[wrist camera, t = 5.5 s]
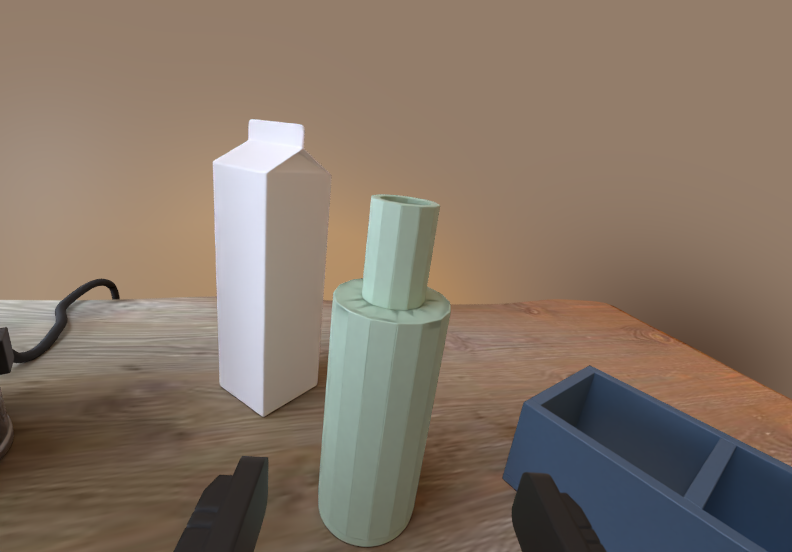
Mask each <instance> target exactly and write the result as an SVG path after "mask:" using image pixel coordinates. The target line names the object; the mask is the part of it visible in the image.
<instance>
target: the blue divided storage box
mask: <svg viewBox="0 0 792 552" xmlns="http://www.w3.org/2000/svg"><path fill="white" fill-rule="evenodd" d="M524 472H531V473H547V474H549V475H550V476H551V477H552V479H553V480H554V482H555V484H556V486H557V488H558V490H559V491H560V493H567V494H568V495H569V496H570V497H571V498H572V499H573V500H574V501H575V502H576V503H577V504H578V505H579V506H580V507H581V508H582V510H583V512H584V513H585V515H586V517H587V519H588V520H589V522H590V524H591V526H592V529H594V531H595V532H596V534H597V536H598V538H599V539H600V543H601V544H602V545H603V546H604V548H605V550H606V552H792V467H791V466H789V465H787V464H785V463H783V462H781V461H779V460H777V459H775V458H773V457H771V456H769V455H767V454H765V453H763V452H761V451H759V450H757V449H755V448H753V447H751V446H749V445H747V444H745V443H743V442H741V441H739V440H737V439H735V438H733V437H731V436H729V435H727V434H725V433H723V432H721V431H719V430H717V429H715V428H713V427H711V426H709V425H707V424H705V423H703V422H701V421H699V420H697V419H695V418H693V417H691V416H689V415H688V414H686V413H684V412H682V411H680V410H678V409H676V408H674V407H672V406H670V405H668V404H666V403H664V402H662V401H660V400H658V399H656V398H654V397H652V396H650V395H648V394H646V393H644V392H642V391H640V390H638V389H636V388H634V387H632V386H630V385H628V384H626V383H624V382H622V381H620V380H618V379H616V378H614V377H612V376H610V375H608V374H606V373H604V372H602V371H600V370H598V369H596V368H594V367H592V366H590V365H589V366H588V367H586V368H584V369H582V370H580V371H579V372H577V373H575V374H573V375H571V376H570V377H568V378H566V379H564V380H562V381H561V382H559V383H557V384H555V385H554V386H552V387H550V388H548V389H546V390H545V391H543V392H541V393H539V394H537V395H536V396H534V397H532V398H530V399H529V400H527V401H525V402H524V403H523V407H522V410H521V414H520V417H519V421H518V425H517V428H516V432H515V435H514V439H513V442H512V446H511V449H510V453H509V456H508V460H507V464H506V467H505V471H504V474H503V479H504V480H505V481H506V482H507V483H508V484H510V485H511V486H512V487H513V488H514V489H515V490H516V491H517V489H518V486H519V483H520V479H521V476H522V474H523V473H524Z"/></svg>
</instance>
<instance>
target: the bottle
mask: <svg viewBox="0 0 792 552" xmlns="http://www.w3.org/2000/svg"><path fill="white" fill-rule="evenodd" d="M439 209H440V205H438V204H437V203H435V202H432V201H428V200H424V199H419V198H413V197H406V196H398V195H381V194H380V195H373V196H372V197H371V207H370V216H369V226H368V236H367V245H366V257H365V265H364V275H363V278H361V279H354V280H350V281H348V282H345V283H343V284H340V285H339V286H338V287H337V289H336V290H335V291H334V293H333V304H332V317H331V331H330V344H329V357H328V370H327V383H326V396H325V409H324V422H323V435H322V448H321V461H320V474H319V487H318V494H319V498H318V507H319V512H320V515H321V518H322V520H323V522H324V524H325V525H326V527H327V528H328V529H329V531H330V532H331V533H332V534H333V535H335V536H336V537H337V538H339V539H340V540H342V541H344V542H346V543H349V544H352V545H355V546H362V547H371V546H378V545H382V544H385V543H387V542H389V541H391V540H393V539H394V538H396V537H397V536H398V535H399V534H400V533H401V532H402V531H403V530H404V529H405V528H406V526H407V525H408V523H409V521H410V518H411V515H412V511H413V509H414V504H415V498H416V493H417V488H418V482H419V477H420V472H421V466H422V461H423V456H424V451H425V445H426V440H427V435H428V429H429V424H430V419H431V413H432V408H433V403H434V398H435V392H436V387H437V382H438V376H439V371H440V366H441V360H442V355H443V350H444V345H445V339H446V334H447V329H448V323H449V318H450V313H451V308H450V302H449V301H448V300H447V299H446V298H445V297H444V296H443V295H442V294H440V293H439V292H437V291H435V290H433V289H431V288H429V287H427V283H428V277H429V271H430V265H431V258H432V252H433V246H434V240H435V233H436V227H437V221H438V215H439Z"/></svg>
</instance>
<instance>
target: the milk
mask: <svg viewBox="0 0 792 552" xmlns="http://www.w3.org/2000/svg"><path fill="white" fill-rule="evenodd" d="M248 129H249V132H248V134H249V135H248V136H249V139H248V141H246V142H245V143H243V144H241V145H240V146H238V147H236V148H235V149H233V150H231V151H230V152H228V153H226V154H225V155H223V156H221V157H219V158H218V159H216V160H215V161H213V181H214V215H215V247H216V276H217V277H216V278H217V312H218V345H219V377H220V386H221V387H223V388H224V389H225V390H227V391H228V392H229V393H231V394H232V395H233V396H235V397H236V398H238V399H239V400H240V401H242V402H243V403H244V404H246V405H247V406H249V407H250V408H251V409H253V410H254V411H255V412H257V413H258V414H260V415H261V416H262V417H264V416H266V415H268V414H269V413H271V412H273V411H274V410H276V409H278V408H279V407H281V406H283V405H284V404H286V403H288V402H289V401H291V400H293V399H294V398H296V397H298V396H299V395H301V394H303V393H304V392H306V391H308V390H310V389H311V388H313V387H315V386H316V385H317V382H318V368H319V353H320V338H321V324H322V309H323V294H324V279H325V264H326V250H327V249H326V248H327V235H328V220H329V205H330V190H331V174H330V173H329V172H328V171H327V170H326V169H325V168H324V167H323V166H322V165H320V163H319V162H317V161H316V160H315V159H314V158H313V157H312V156H311V155H310V154H309V153H308V152H307V151H306V150H305V149H304V133H305V130H304V127H303V125H301V124H292V123H282V122H273V121H264V120H253V119H251V120H250V121H249V128H248Z"/></svg>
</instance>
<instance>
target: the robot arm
mask: <svg viewBox="0 0 792 552" xmlns="http://www.w3.org/2000/svg"><path fill="white" fill-rule="evenodd" d="M97 286H106V287H107V288H109V290H110V292H111V296H112V300H117V299H120V296H119V292H118V289H117V287H116V285H115V284H114V283H113V282H112V281H110V280H106V279H96V280H93V281H90V282H88V283H86V284H84V285H82V286H81V287H79V288H77V289H76V290H75V291H73V292H72V293H71V294H69V295H68V296H67V297H66V298H64V299H63V300H62V301H61V302H60V303H59V304H58V305H57V307H56V309H55V316H56V323H55V324H54V326H53V327H52V328H51V330H50V331H49V332H48V334H47V335H46V336H45V337H44V339H43V340H42V341H41V342H40V343H39V344H38V345H37V346H35V347H34V348H33V349H31V350H29V351H27V352H22V353H18V352H16V351H15V350H13V349H12V345H11V341H10V337H9V333H8V328H7V327H5V328H0V375H2V374H7V373H10V372H11V368H12V364H13V363H22V362H27V361H30V360H33V359H35V358H37V357H38V356H40V355H41V354H43V353H44V352H45V351H47V350H48V349H49V348H50V347H51V346H52V344H53V343H54V342H55V340H56V339H57V338H58V336H59V335H60V333H61V332H62V331H63V329H64V328H65V326H66V324H67V315H66V309H67V307H68V306H70V305H71V304H72V303H73V302H74V301H75V300H76V299H78V298H79V297H80V296H81V295H83V294H84V293H86V292H87V291H89V290H90V289H92V288H94V287H97ZM13 438H14V430H13V426H12V422H11V419H10V417H9V416H8V414H7V412H6V408H5V404H4V400H3V396H2V392H1V388H0V460H1V459H2V457H3V456H4V455H5V454H6V452H7V451H8V449H9V448H10V446H11V444H12V441H13ZM267 498H268V457H252V456H242V457H241V459H240V461H239V463H238V465H237V467H236V470H235V472H234V474H233V476H232V475H219V476H218V477H217V478H216V479H215V480H214V481H213V482H212V483H211V484H210V485H209V486H208V487H207V488H206V489H205V490H204V491H203V493H202V495H201V497H200V499H199V501H198V503H197V506H196V508H195V511H194V512H193V514H192V516H191V518H190V520H189V522H188V524H187V527H186V528H185V530H184V532H183V534H182V536H181V538H180V540H179V542H178V544H177V546H176V548H175V550H174V552H254V549H255V545H256V542H257V539H258V535H259V532H260V529H261V525H262V522H263V519H264V515H265V510H266V505H267ZM512 522H513V527H514V530H515V533H516V536H517V538H518V541H519V544H520V547H521V549H522V552H606V550H605V548H604V546H603V545H602V544H601V543H600V539H599V538H598V536H597V534H596V532H595V531H594V529H592V526H591V524H590V522H589V520H588V519H587V517H586V515H585V513H584V512H583V510H582V508H581V507H580V506H579V505H578V504H577V503H576V502H575V501H574V500H573V499H572V498H571V497H570V496H569V495H568V494H567V493H560V491H559V490H558V488H557V486H556V484H555V482H554V480H553V479H552V477H551V476H550V475H549V474H547V473H531V472H524V473H523V474H522V476H521V479H520V483H519V486H518V489H517V493H516V496H515V499H514V503H513V506H512Z"/></svg>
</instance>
